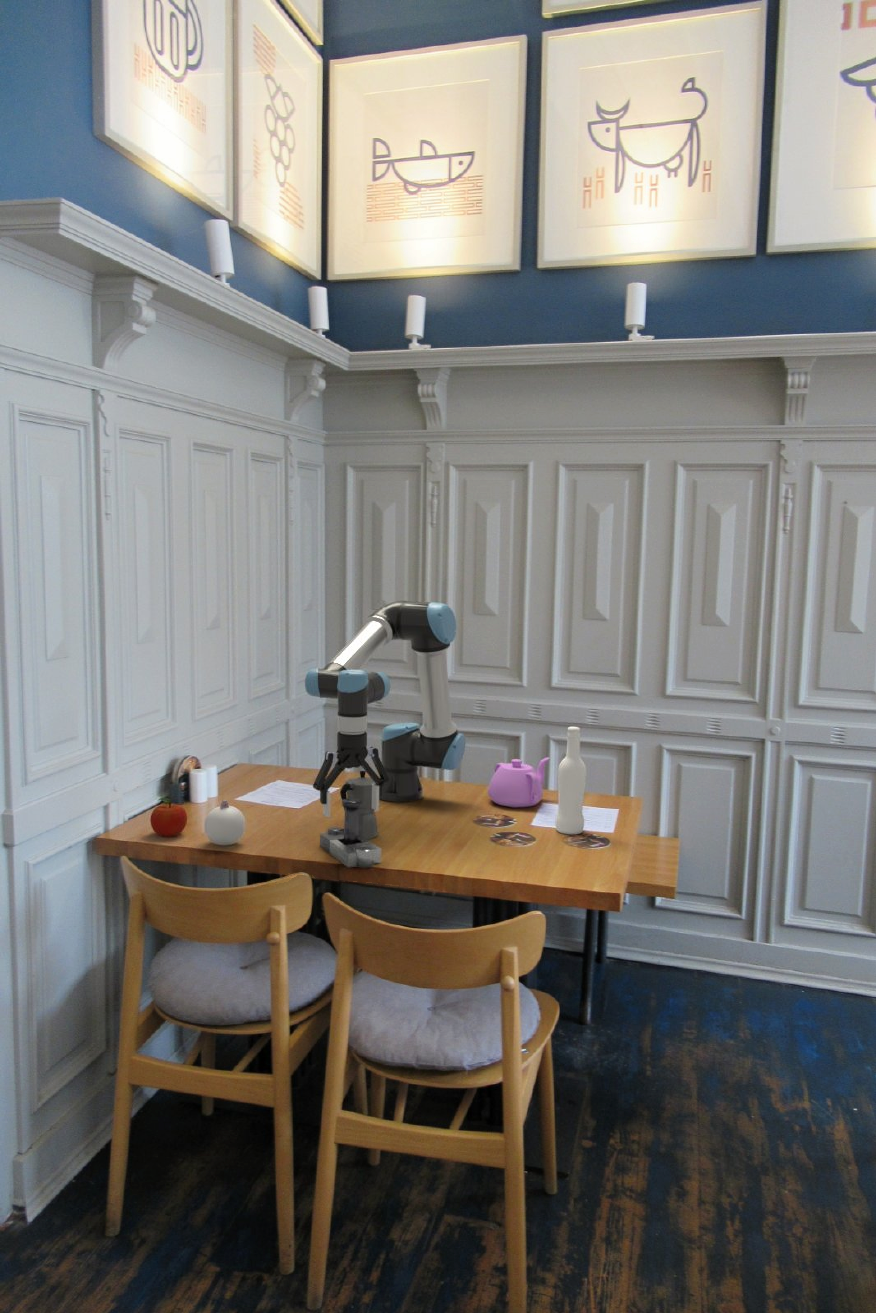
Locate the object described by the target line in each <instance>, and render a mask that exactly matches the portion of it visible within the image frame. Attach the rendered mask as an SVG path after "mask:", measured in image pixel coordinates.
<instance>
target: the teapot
mask: <svg viewBox="0 0 876 1313" xmlns="http://www.w3.org/2000/svg"><path fill="white" fill-rule="evenodd" d="M550 758H551V757H550V756H549V757H544V758H543V759H541V760H540V761H539V764H538V766H537V770H535V769H534V767H533V766H532V765H529V764H526V763H523V760H522V759H518V758H513V759H511V760H510V761H511V763H510V762H508V763H504V762H498V763H497V764H495V766H494V774H493V776H492V777H491V779H490V781H489V784H488V789H487V794H488V797H489V798H490V799H491V801H492V802H493V803H495V804H497V805H500V806H505V807H509V808H511V809H513V808H514V809H515V808H527V807H533V806H536V805H537V804H539V802H540V801H541V800H542V798H543V796H544V793H543V792H544V790H543V785H544V783H545V778H546V777H545V771H546V770H545V767H546V764H547V762H548V761H549V759H550Z"/></svg>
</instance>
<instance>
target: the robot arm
mask: <svg viewBox="0 0 876 1313" xmlns="http://www.w3.org/2000/svg"><path fill="white" fill-rule="evenodd" d="M456 630H457V621H456V617H455V613H454V611H453V610H452V608H451V607H450V606H449V604H446V603H442V602H441V603H440V602H437V601H432V602H431V601H411V600H397V601H393V602H391V603H390V602H389V603H388V604H385V605H383V606H382V607H379V609H377V610H374V612H372V613H371V614H370V615H369V616H368V617H367V618H366V619H365V620H364V621H363V623H362V627H361V629H360V630H359V631H358V632H357V633H356V634H355V635H354V636H353V637H352V638H351V639H350V641H349V642H347V643H346V644H345V646H344V647H343V648H341V649H340V651H339V652H337V654H336V655H335V656H334V657H333V658H332V659H331V660H330V661H329V662H328V663H327V664H326V665H325V666H324V667H323V668H319V667H318V668H312V669H310V670H308V672H307V673H306V674H305V678H304V679H305V680H304V688H305V691H306V693H307V694H308V695H309V696H311V697H315V698H320V699H332V700H333V699H335V700H337V725H336V726H337V727H336V728H337V731H338V732H337V735H336V737H337V738H336V740H337V742H336V743H337V744H336V745H337V746H336V748H337V750H336V752H330V751H325V753H324V760H323V763H322V764H321V766H320V769H319V771H318V773H317V776H316V778H315V779H314V782H313V784H312V787H313V789H315V790H316V791H318V792H319V793H320V794H319V802H320V804H322V806H323V807H322V810H323V812H322V815H323V816H324V817H326V818H331V791H329V789H330V788H331V787H332V785H333V784H334V782H335V781H336V780H337V779H338V777H339V776H340V774H341V773H342V772H343V771H344V770H345V769H349V770H350V769H352V768H360V767H361V768H362V769H363V771H366V774H367V775H368V776H369V778H372V779H373V781H374V782H375V783H376V784H372V809H374V811H375V812H377V811H380V808H379V807H380V800H382V801H386V802H392V803H393V802H396V803H401V802H402V803H405V802H406V803H408V802H414V801H418V800H421V799H422V798H423V795H424V790H423V786H422V783H421V779H420V776H419V772H418V770H419V767H420V768H427V769H434V770H435V769H436V770H441V771H445V770H446V771H455V770H456V769H458V767H459V766H460V764H461V762H462V761H463V758H464V754H465V748H466V737H465V735H464V734H463V733H462V732H458V731H459V730H458V726H457V724H456V723H455V722H454V721H452V709H451V698H450V687H449V675H448V674H449V673H448V672H449V671H448V662H447V650H448V649H449V648H450V647H451V643H453V641H454V640H455V638H456V633H457V632H456ZM395 640H397V641H398V640H400V641H401V640H402V641H410V646H411V650H412V651H413V652H415V654H417V655H416V656H417V665H418V666H417V667H418V675H419V676H418V677H419V688H420V696H421V698H420V699H421V705H422V707H421V708H422V715H423V718H422V719H423V724H422V725H420V724H419V723H415V722H403V723H395V724H390V725H389V724H388V725H387V726H385V727H384V728H383V729H382V733H381V734H382V735H381V759H380V757H379V754H380V753H379V749H378V748H376V747H374V746H370V747H369V748H368V747H367V745H368V733H367V732H366V731H367V730H368V705H369V704H372V703H375V702H376V703H377V702H378V701H379V702H380V701H381V700H383V699H385V698H386V697H387V696H388V695H389V694H390V691H391V682H390V679H389V678H388V676H387V675H386V674H385V673H383V672H380V671H371V672H367V671H365V670H362V668H363V667H364V665H365V664H367V663H368V661H369V660H370V659H371V658H372V657H373V655H375V653H376V652H377V651H378V650H380V649H381V647H382V646H386V645H388V644H389V643H390V642H391V641H395ZM368 756H369V757H370V758H371V760H372V762H373V765H374V767H375V769H376V771H377V773H378V774H377V773H376V772H375V771H374V769H372V767H371V766H370V764H369V763H368V762H367V760H366V759H367V757H368ZM336 759H337V761H336V763H335V764H334V767H333V768H332V769H331V767H332V765H333V763H334V761H335V760H336ZM330 770H331V771H330ZM378 775H379V776H378Z"/></svg>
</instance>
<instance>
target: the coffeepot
mask: <svg viewBox="0 0 876 1313" xmlns="http://www.w3.org/2000/svg"><path fill="white" fill-rule="evenodd" d="M366 774H367V772H366V771H365V770H360V771H359V777H352V778H348V779H347V780H346V781H345V782H344V784H343V785H342V786H341V789H340V791H339V794H340V798H341V801H342V800H343V799H348V798H354V799H360V800H362V806H361V807H359V818H358V834H359V835H361V836H362V837H364V838H365V839H367V840H372V839H375V838H377V836H378V835H379V830H378V822H377V815H376V811H375V810H374V809H372V784H376V783H375V782H374V781H373V779H372V778H371V777H367V776H366ZM342 807H343V810H344V812H345V807H344V806H342Z"/></svg>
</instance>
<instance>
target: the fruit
mask: <svg viewBox="0 0 876 1313" xmlns="http://www.w3.org/2000/svg"><path fill="white" fill-rule="evenodd" d="M157 801H163V802H164V803H165V804H162V805H161V804H160V805H158V806H156V807H155V808H154V809H153V810H152V812H151V815H150V819H149V820H150V826H151V829H152V830H153V832H154V833H155V834H156V835H158V836H160V837H164V838H168V837H169V838H170V837H172V838H173V837H175V835H176V836H177V835H179V834H181V833H182V832H183V831H184V829H185V828H186V826H187V823H188V814H187V811H186V809H185V808H184V807H183V806H182V805H180V804H176V803H172V801H171V800H170V799H169V798H168V797H162V798H159V799H158V800H157Z"/></svg>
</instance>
